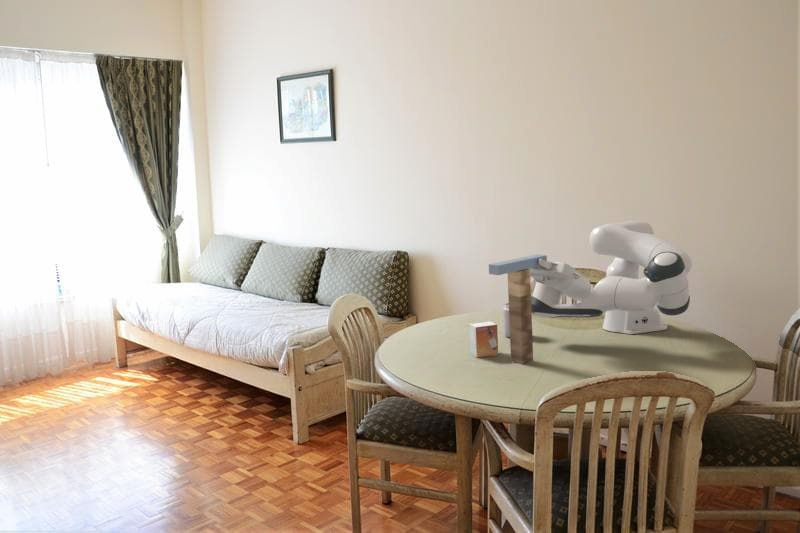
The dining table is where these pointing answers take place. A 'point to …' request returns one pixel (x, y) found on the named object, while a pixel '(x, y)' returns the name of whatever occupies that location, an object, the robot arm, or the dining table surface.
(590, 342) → the dining table surface
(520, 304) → the stand
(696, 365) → the dining table surface
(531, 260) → the blue bar
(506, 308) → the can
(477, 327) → the small box
